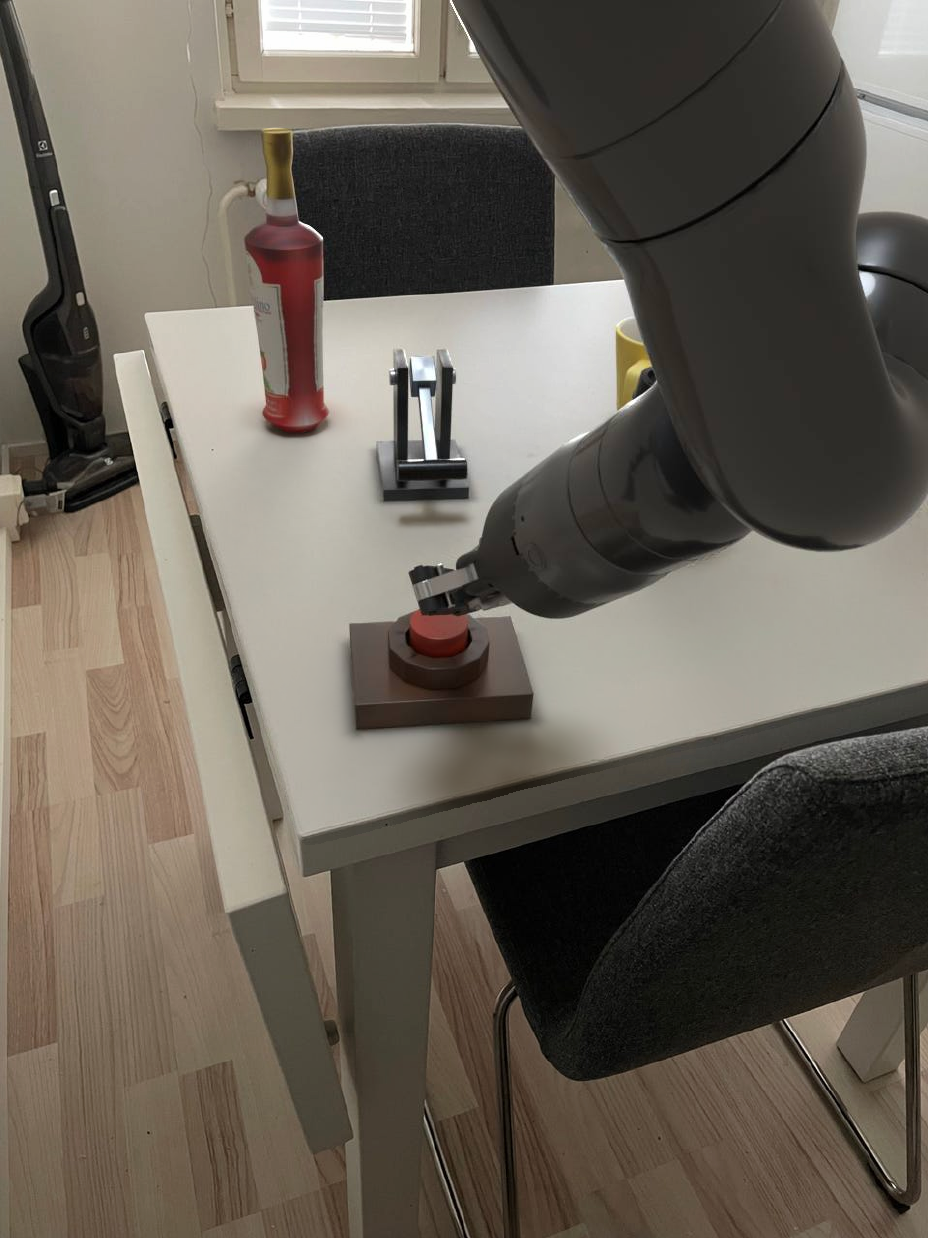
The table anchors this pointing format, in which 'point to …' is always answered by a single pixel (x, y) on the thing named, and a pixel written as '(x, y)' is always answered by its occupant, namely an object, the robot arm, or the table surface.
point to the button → (438, 634)
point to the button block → (437, 676)
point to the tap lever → (427, 430)
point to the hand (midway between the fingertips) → (459, 598)
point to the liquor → (287, 297)
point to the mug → (628, 360)
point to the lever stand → (414, 449)
